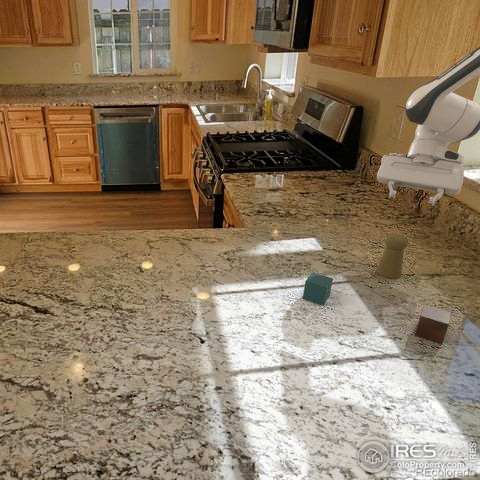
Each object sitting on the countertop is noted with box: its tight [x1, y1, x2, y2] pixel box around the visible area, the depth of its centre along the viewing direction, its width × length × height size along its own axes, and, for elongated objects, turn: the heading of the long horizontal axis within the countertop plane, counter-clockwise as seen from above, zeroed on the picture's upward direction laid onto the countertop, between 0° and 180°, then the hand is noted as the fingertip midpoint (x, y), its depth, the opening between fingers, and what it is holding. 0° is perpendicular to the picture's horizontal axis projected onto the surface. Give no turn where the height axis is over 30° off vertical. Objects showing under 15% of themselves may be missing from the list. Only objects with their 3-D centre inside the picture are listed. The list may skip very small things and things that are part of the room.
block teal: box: [302, 272, 334, 306], centre depth 102 cm, size 5×5×5 cm
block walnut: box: [414, 304, 452, 345], centre depth 89 cm, size 5×5×5 cm
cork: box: [375, 232, 409, 280], centre depth 111 cm, size 6×6×11 cm
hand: (410, 201), depth 114 cm, fingers open, 8 cm apart
